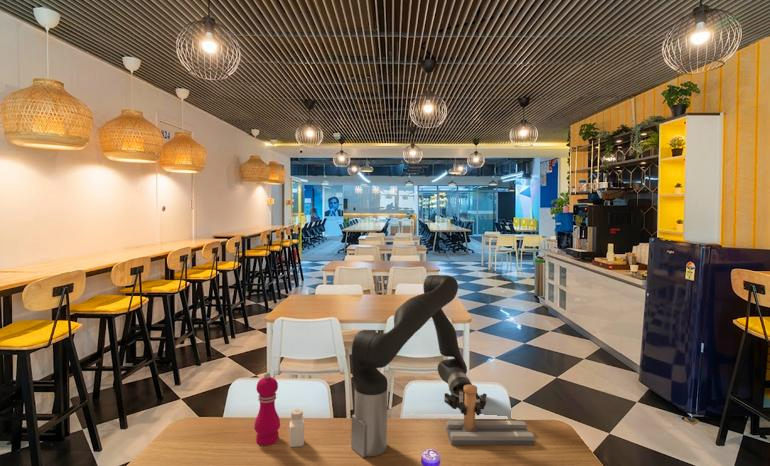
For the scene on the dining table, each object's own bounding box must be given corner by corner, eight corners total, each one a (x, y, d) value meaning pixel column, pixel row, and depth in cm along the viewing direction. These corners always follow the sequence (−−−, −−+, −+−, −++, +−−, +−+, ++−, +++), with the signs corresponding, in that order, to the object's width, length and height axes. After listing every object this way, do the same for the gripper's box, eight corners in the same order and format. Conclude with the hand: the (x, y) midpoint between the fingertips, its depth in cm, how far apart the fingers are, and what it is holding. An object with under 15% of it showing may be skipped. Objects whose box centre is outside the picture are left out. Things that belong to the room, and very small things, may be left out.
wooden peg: (463, 435, 126) (465, 390, 125) (461, 428, 130) (462, 384, 129) (477, 435, 126) (478, 390, 126) (474, 428, 130) (475, 384, 130)
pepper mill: (285, 439, 126) (285, 372, 124) (263, 449, 120) (262, 379, 119) (271, 430, 131) (271, 366, 129) (249, 439, 125) (249, 372, 124)
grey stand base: (451, 445, 124) (451, 435, 124) (446, 429, 133) (446, 420, 133) (534, 445, 124) (534, 436, 124) (523, 429, 133) (523, 420, 133)
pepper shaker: (303, 447, 122) (303, 414, 121) (289, 448, 121) (289, 415, 121) (304, 439, 126) (304, 407, 125) (290, 440, 125) (290, 408, 125)
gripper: (439, 376, 142) (448, 399, 125) (482, 376, 142) (496, 399, 125) (439, 398, 142) (447, 424, 125) (481, 398, 142) (495, 424, 125)
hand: (472, 412), depth 125 cm, fingers closed on wooden peg, 3 cm apart
